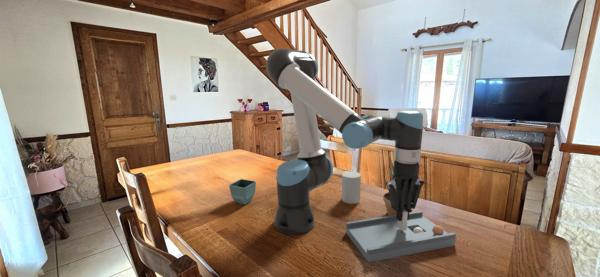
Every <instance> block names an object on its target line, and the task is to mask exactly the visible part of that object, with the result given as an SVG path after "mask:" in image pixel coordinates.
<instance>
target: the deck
mask: <svg viewBox="0 0 600 277" xmlns="http://www.w3.org/2000/svg"><path fill="white" fill-rule="evenodd" d="M423 214H424V213H423V211H422V210H418V211H412V212H411V213H410V212H409V219H408V220H407V228H406V230H405V231H402V230H401V229H400V228H398V227H397V225H398V220H397V218H396V215H390V216H389V215H386V216H378V217H373V218H366V219H359V220H354V221H353V220H351V221H347V222H345V234H346V235H347V237H348V238H349V239H350V240H351V241H352V243H353V244H354V246H355V247H356V249H357V250H358V251H359V253H360V254H361V256H362V257H363V258H364V259H365V261H366V262H367V263H374V262H379V261H383V260H384V261H385V260H388V259H393V258H398V257H404V256H409V255H414V254H415V255H416V254H419V253H425V252H429V251H434V250H438V249H444V248H449V247H455V246H456V237H457V234H456V233H455V232H448V231H446V230H444V233H443V234H442V235H437V236H436V235H435V234H434V233H433V231H432V229H433V227H434V226H436V224H435V223H434V222H432V221H431V220H429V219H428V218H427V217H425V216H423ZM416 227H420V228H422V229H423V231H424V232H421V233H414V232H413V230H414V228H416Z"/></svg>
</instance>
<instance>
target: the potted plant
mask: <svg viewBox="0 0 600 277" xmlns="http://www.w3.org/2000/svg"><path fill="white" fill-rule="evenodd" d="M389 162H390V166H391V169H392V170H391V169H390V167H389V166H388V168H387V169H388V173H389V176H390V179H391V181H392V180H393V176H394V170H393V169H394V162H393V161H392V157H391V156H389ZM384 182H385V183H386V182H389V181H388V180H386V179H384ZM395 186H396V184H395ZM395 189H396V188H395ZM396 194H397V189H396ZM382 200H383V202H384V204H385V209H386V212H387V216H390V215H397V211H395V210H394V209H393V208H392V207H391V202H390V196H389V191H388V192H385V193H383V195H382Z"/></svg>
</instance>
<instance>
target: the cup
mask: <svg viewBox="0 0 600 277" xmlns="http://www.w3.org/2000/svg"><path fill="white" fill-rule="evenodd" d="M361 180H362V174H361V173H360V172H357V171H344V172H342V174H341V201H342V202H344V203H346V204H349V205H350V204H351V205H355V204H359V203H360V202H361V188H362V187H361V184H362V182H361Z"/></svg>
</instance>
